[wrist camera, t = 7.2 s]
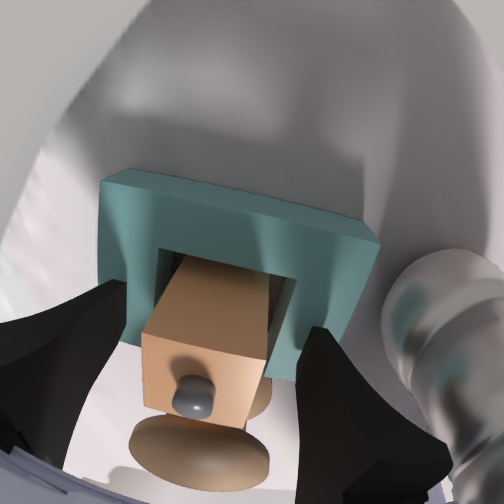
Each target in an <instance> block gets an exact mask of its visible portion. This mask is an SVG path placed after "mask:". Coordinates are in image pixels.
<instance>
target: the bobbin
mask: <svg viewBox="0 0 504 504" xmlns="http://www.w3.org/2000/svg"><path fill="white" fill-rule="evenodd" d="M271 394H272V378H269V377H264V369H263V372H262V375H261V378H260V381H259V384H258V387H257V390H256V393H255V396H254V399H253V402H252V404H251V407H250V410H249V413H248V416H247V419H246V422H245V424H244V427H243V429H241V428H235V427H229V426H224V425H219V424H214V423H209V422H204V421H199V420H195V419H189V418H186V417H182V416H178V415H174V414H170V413H166V415H158V416H153V417H149V418H146V419H144V420H142V421H140V422H139V423H138V424H137V425H136V426H135V428H134V430H133V432H132V435H131V438H130V440H129V450H130V453H131V455H132V456H133V458H134V459H135V460H136V461H137V462H138V463H139V464H140V465H141V466H142V467H143V468H145V469H146V470H148V471H149V472H151V473H152V474H154V475H156V476H158V477H160V478H162V479H164V480H166V481H169V482H171V483H174V484H176V485H179V486H183V487H187V488H191V489H196V490H201V491H209V492H233V491H240V490H245V489H249V488H252V487H254V486H257V485H259V484H260V483H262V482H263V481H264V480H265V479H266V478H267V476H268V474H269V461H270V457H269V453H268V450H267V449H266V447H265V446H264V445H263V444H262V443H261V442H260V441H259V440H258V439H256V438H255V437H254V436H252V435H250V434H249V433H247V432H246V423H247V420H249V419H252V418H254V417H256V416H257V415H259V414H260V413H262V412H263V411H264V410H265V409H266V407H267V406H268V404H269V402H270V400H271Z"/></svg>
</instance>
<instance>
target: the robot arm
mask: <svg viewBox="0 0 504 504" xmlns="http://www.w3.org/2000/svg"><path fill="white" fill-rule="evenodd" d="M126 324H127V282H123V281H119V280H116V279H111V280H109V281H107V282H105V283H103V284H101V285H99V286H97V287H95V288H93V289H91V290H89V291H87V292H85V293H83V294H81V295H79V296H77V297H75V298H73V299H71V300H69V301H67V302H65V303H62V304H60V305H58V306H56V307H53V308H51V309H49V310H46V311H43V312H40V313H37V314H34V315H31V316H28V317H24V318H20V319H17V320H13V321H9V322H3V323H0V504H149V503H146V502H142V501H139V500H136V499H133V498H129V497H127V496H123V495H121V494H117V493H115V492H112V491H109V490H107V489H104V488H101V487H99V486H96V485H94V484H91V483H89V482H86V481H84V480H82V479H79V478H77V477H75V476H73V475H70V474H68V473H66V472H64V471H62V469H63V465H64V461H65V457H66V454H67V450H68V447H69V443H70V440H71V437H72V434H73V431H74V428H75V425H76V423H77V420H78V417H79V415H80V412H81V410H82V407H83V405H84V403H85V400H86V398H87V396H88V393H89V391H90V389H91V388H92V386H93V384H94V382H95V380H96V379H97V377H98V376H99V374H100V372H101V371H102V369H103V367H104V366H105V364H106V363H107V361H108V359H109V358H110V356H111V354H112V353H113V351H114V350H115V348H116V346H117V345H118V342H119V340H120V338H121V336H122V334H123V331H124V329H125V327H126ZM295 387H296V400H297V411H298V422H299V436H300V448H299V466H298V479H297V489H296V497H295V504H458V501H452V502H448V503H446V501H445V497H444V493H443V489H442V486H441V482H440V481H442V480H443V479H444V478H445V477H446V476H447V475H448V474H449V473H450V472H451V470H452V468H453V465H454V463H453V460H452V457H451V454H450V451H449V449H448V446H447V444H446V443H445V442H443V441H441V440H439V439H437V438H435V437H434V436H432V435H430V434H428V433H426V432H425V431H423V430H422V429H420V428H419V427H417V426H416V425H414V424H413V423H411V422H410V421H409V420H407V419H406V418H405V417H403V416H402V415H401V414H400V413H399V412H397V411H396V410H395V409H394V408H393V407H391V406H390V405H389V404H388V403H387V402H386V401H385V400H384V399H383V398H382V397H381V396H380V395H379V394H378V393H377V392H376V391H375V390H374V389H373V388H372V387H371V386H370V385H369V384H368V382H367V381H366V380H365V379H364V378H363V376H362V375H361V374H360V373H359V371H358V370H357V369H356V368H355V366H354V365H353V364H352V362H351V361H350V360H349V358H348V357H347V355H346V354H345V353H344V351H343V350H342V348H341V347H340V345H339V344H338V342H337V341H336V340H335V338H334V337H333V335H332V334H331V332H330V331H329V330H328V328H323V327H317V326H312V328H311V330H310V333H309V335H308V338H307V340H306V343H305V345H304V347H303V350H302V352H301V354H300V357H299V359H298V361H297V364H296V383H295Z"/></svg>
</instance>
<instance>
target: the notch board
mask: <svg viewBox="0 0 504 504" xmlns="http://www.w3.org/2000/svg"><path fill="white" fill-rule="evenodd" d="M380 247H381V243H380V242H379V241H378V239H377V238H376V237H375V235H374V234H373V233H372V232H371V230H370V229H369V228H368V227H367V225H366V224H365V223H364V221H360V220H356V219H353V218H349V217H345V216H342V215H338V214H334V213H331V212H327V211H323V210H319V209H315V208H311V207H307V206H304V205H300V204H296V203H292V202H287V201H283V200H279V199H275V198H271V197H267V196H262V195H258V194H254V193H249V192H245V191H241V190H236V189H232V188H227V187H222V186H218V185H213V184H208V183H204V182H199V181H194V180H189V179H184V178H179V177H174V176H169V175H163V174H158V173H153V172H147V171H142V170H136V169H131V168H128V169H126V170H124V171H121V172H119V173H117V174H115V175H112V176H110V177H108V178H106V179H103V180H101V181H100V195H99V213H98V286H99V285H101V284H103V283H105V282H107V281H109V280H111V279H116V280H119V281H123V282H127V324H126V327H125V329H124V331H123V334H122V336H121V338H120V340H119V341H122V342H125V343H128V344H131V345H135V346H138V347H141V348H142V346H141V332H142V330H143V329H144V327H145V325H146V323H147V321H148V319H149V318H150V316H151V314H152V312H153V310H154V309H155V307H156V305H157V303H158V302H159V300H160V298H161V296H162V295H163V293H164V291H165V289H166V288H167V286H168V284H169V282H170V281H171V272H172V264H173V256H174V251H175V252H179V253H183V254H187V255H192V256H196V257H200V258H204V259H209V260H213V261H217V262H222V263H226V264H230V265H235V266H239V267H243V268H248V269H252V270H257V271H261V272H266V273H270V274H274V275H279V276H283V277H286V278H285V281H284V284H283V287H282V291H281V294H280V297H279V300H278V303H277V306H276V310H275V313H274V316H273V319H272V322H271V325H270V328H269V331H268V334H267V356H266V363H265V366H264V377H269V378H274V379H280V380H286V381H292V382H296V364H297V361H298V359H299V357H300V354H301V352H302V350H303V347H304V345H305V343H306V340H307V338H308V335H309V333H310V330H311V328H312V326H317V327H323V328H328V330H329V331H330V332H331V334H332V335H333V337H334V338H335V340H336V341H337V342H338V344H339V342H340V340H341V338H342V336H343V334H344V332H345V330H346V328H347V325H348V323H349V321H350V319H351V317H352V315H353V312H354V310H355V308H356V306H357V303H358V301H359V299H360V297H361V294H362V292H363V290H364V287H365V285H366V282H367V280H368V278H369V275H370V273H371V270H372V268H373V265H374V263H375V260H376V258H377V255H378V253H379V250H380Z"/></svg>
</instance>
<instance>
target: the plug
mask: <svg viewBox="0 0 504 504" xmlns="http://www.w3.org/2000/svg"><path fill="white" fill-rule="evenodd" d="M269 274H270V273H266V272H261V271H257V270H252V269H248V268H243V267H239V266H235V265H230V264H226V263H222V262H217V261H213V260H209V259H204V258H200V257H196V256H192V255H187V254H186V255H185V257H184V258H183V260H182V262H181V263H180V265H179V267H178V269H177V270H176V272H175V274H174V275H173V277H172V279H171V281H170V282H169V284H168V286H167V288H166V289H165V291H164V293H163V295H162V296H161V298H160V300H159V302H158V303H157V305H156V307H155V309H154V310H153V312H152V314H151V316H150V318H149V319H148V321H147V323H146V325H145V327H144V329H143V330H142V332H141V346H142V381H143V401H144V406H145V407H148V408H152V409H155V410H159V411H163V412H166V413H170V414H174V415H178V416H182V417H186V418H189V419H195V420H199V421H204V422H209V423H214V424H219V425H224V426H229V427H235V428H241V429H243V427H244V424H245V422H246V419H247V416H248V413H249V410H250V407H251V404H252V402H253V399H254V396H255V393H256V390H257V387H258V384H259V381H260V378H261V375H262V372H263V369H264V366H265V363H266V356H267V332H268V304H269Z"/></svg>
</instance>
